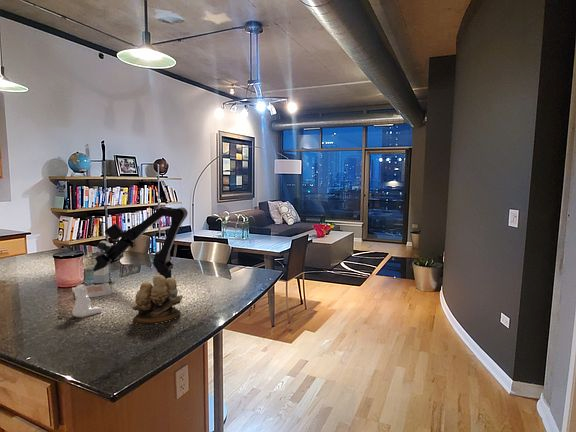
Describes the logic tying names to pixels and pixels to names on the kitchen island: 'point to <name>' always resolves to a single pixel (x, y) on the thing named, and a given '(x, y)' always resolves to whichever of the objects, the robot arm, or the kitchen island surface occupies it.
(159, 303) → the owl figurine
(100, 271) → the grey green upright block
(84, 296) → the seated beast figurine
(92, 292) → the baseplate
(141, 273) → the kitchen island surface
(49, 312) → the kitchen island surface
